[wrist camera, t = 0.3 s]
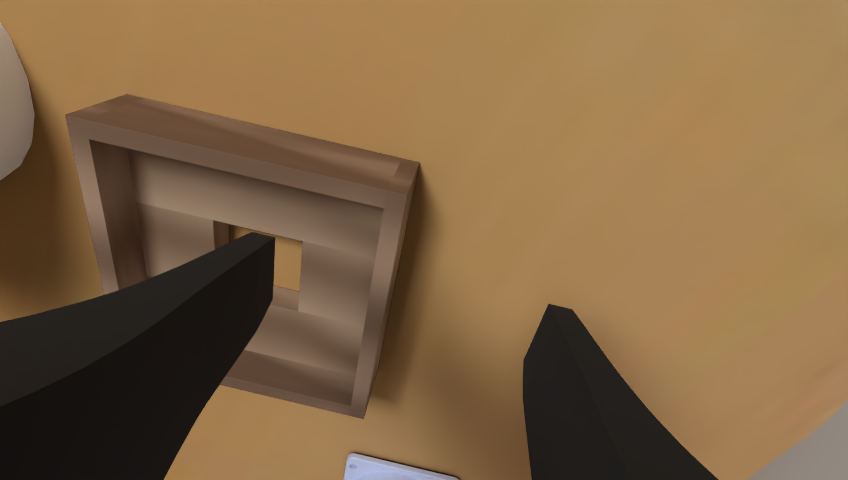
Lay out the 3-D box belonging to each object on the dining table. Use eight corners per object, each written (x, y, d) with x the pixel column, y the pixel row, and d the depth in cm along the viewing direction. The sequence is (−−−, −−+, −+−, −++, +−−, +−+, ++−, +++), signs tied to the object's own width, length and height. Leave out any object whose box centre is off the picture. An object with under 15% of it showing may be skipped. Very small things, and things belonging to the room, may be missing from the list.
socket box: (377, 370, 28) (363, 418, 25) (159, 318, 28) (118, 360, 25) (419, 162, 21) (407, 194, 18) (126, 94, 21) (64, 114, 18)
